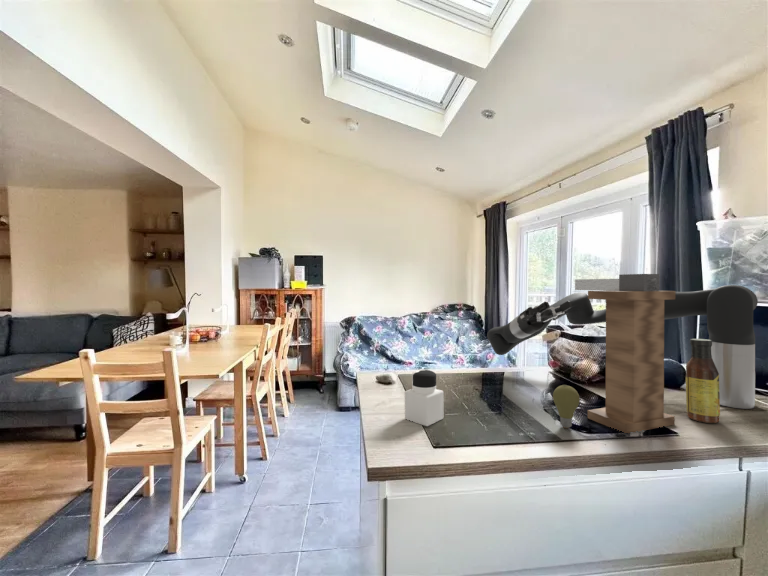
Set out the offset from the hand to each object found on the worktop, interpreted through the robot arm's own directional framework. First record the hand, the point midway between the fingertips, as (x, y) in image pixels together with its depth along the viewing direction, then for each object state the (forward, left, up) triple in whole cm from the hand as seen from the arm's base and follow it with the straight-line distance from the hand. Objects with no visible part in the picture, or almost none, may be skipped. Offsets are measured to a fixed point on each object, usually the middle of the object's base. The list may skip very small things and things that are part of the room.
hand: (559, 304), depth 108 cm
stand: (0, +22, -28) cm, 35 cm away
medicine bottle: (+47, +4, -28) cm, 55 cm away
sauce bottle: (-18, +27, -28) cm, 43 cm away
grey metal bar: (0, +17, +4) cm, 18 cm away
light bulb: (+18, +20, -28) cm, 39 cm away
